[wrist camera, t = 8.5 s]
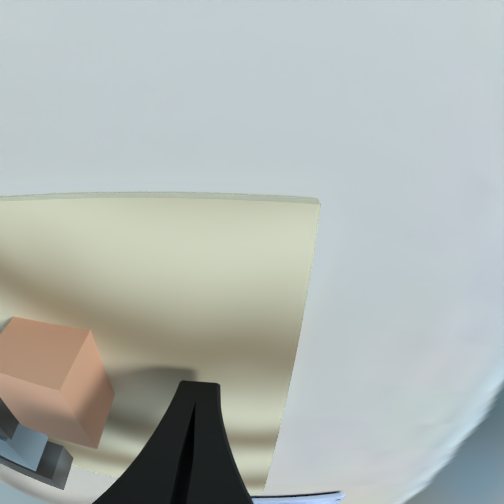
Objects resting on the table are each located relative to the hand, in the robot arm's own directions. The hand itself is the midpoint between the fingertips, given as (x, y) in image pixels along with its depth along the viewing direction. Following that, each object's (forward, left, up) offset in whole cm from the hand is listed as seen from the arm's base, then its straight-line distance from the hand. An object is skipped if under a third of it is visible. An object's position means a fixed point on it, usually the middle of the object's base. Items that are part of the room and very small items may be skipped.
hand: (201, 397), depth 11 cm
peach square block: (0, +6, -1) cm, 6 cm away
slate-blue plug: (-8, +14, -1) cm, 16 cm away
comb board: (-4, +8, -2) cm, 9 cm away
